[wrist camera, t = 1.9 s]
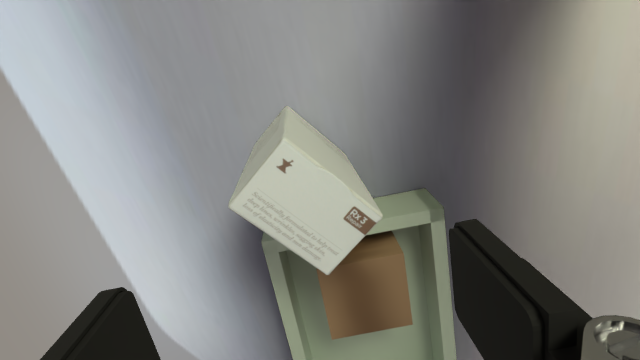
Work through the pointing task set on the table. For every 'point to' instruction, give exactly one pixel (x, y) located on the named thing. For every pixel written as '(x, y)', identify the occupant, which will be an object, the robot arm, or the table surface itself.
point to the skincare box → (304, 193)
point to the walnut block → (367, 288)
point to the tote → (423, 285)
